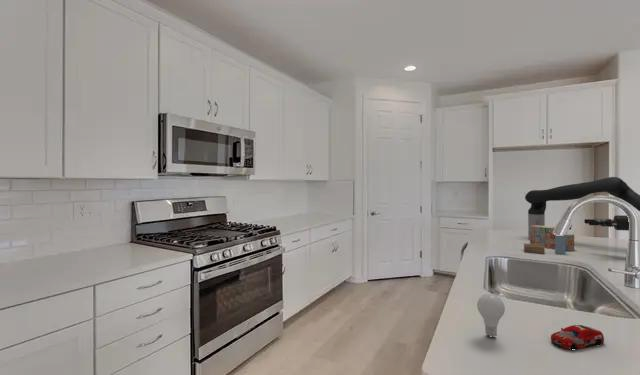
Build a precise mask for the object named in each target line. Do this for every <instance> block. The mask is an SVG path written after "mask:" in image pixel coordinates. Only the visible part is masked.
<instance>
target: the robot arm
mask: <svg viewBox="0 0 640 375" xmlns="http://www.w3.org/2000/svg"><path fill="white" fill-rule="evenodd" d="M596 193H608V194H609V195H610V196H613V197H615V198H618V199H620V200H622V201H624V202H626V203H628V204H629V205H631V206H632V207H633V208H635V209H636V210H637V211H639V212H640V194H638V193H637V192H636V191H635V190H633V189H632V188H631V186H629V185H628V184H627V183H626V182H625V181H624V180H623V179H622V178H619V177H618V176H617V177H616V176H609V177H605V178H601V179H598V180H597V179H596V180H592V181H586V182H581V183H573V184H566V185H561V186H556V187H552V188H547V189H535V190H534V189H533V190H530V191H527V192H526V193H525V196H524V198H525V200H526V202H527V203H529V204H530V207H529V208H528V211H527V216H528V218H527V219H528V220H527V223H528V225H527V226H528V231H527V233H528V236H527V237H528V240H530V226H533V225H539V226H546V225H545V223H546V221H545V219H546V216H545V215H546V214H545V212H546V209H547V202H549V201H550V202H551V201H552V202H554V201H558V202H559V201H572V200H578V199H582V198H584V197H588V195H591V194H596ZM627 216H628V215H620V214H619V215H617V214H616V215H614V216H613V219H612V218H593V219H592V218H591V219H589V218H588V219H586V218H585V219H584V224H587V225H589V226H599V227H606V228H611V227H612V228H614V230H616V231H629V222H628V217H627ZM629 232H630V231H629Z"/></svg>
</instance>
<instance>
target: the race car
mask: <svg viewBox="0 0 640 375" xmlns="http://www.w3.org/2000/svg"><path fill="white" fill-rule="evenodd" d="M550 342H551V343H552V344H553V345H555V346H556V347H559V348H563V349H566V350H569V349H571V350H572V349H576V350H578V349H577V348H580V349H583V348H582V347H586V348H589V346H591V347H596V346H595V345H600V346H601V345H603V344H604V342H605V337H604V334H603V332H602V331H601V330H598V329H596V328H593V327H591V326H586V325H582V324H575V325H574V324H573V325H572V324H571V325H569V326H566V327H564V328H563V327H561V328H560V330H558V331H556V332H554V333H552V334H551V335H550ZM571 350H570V351H571Z"/></svg>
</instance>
